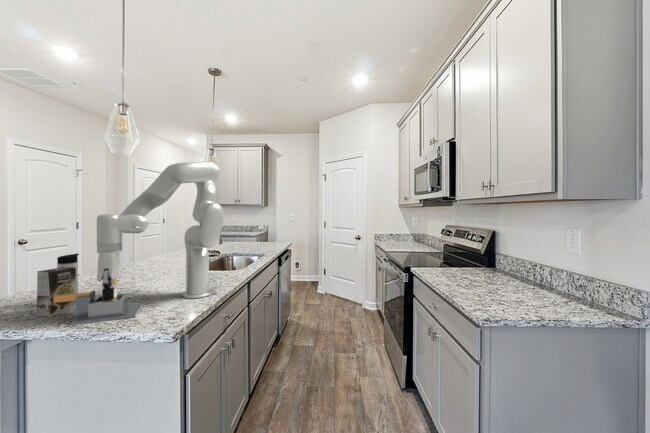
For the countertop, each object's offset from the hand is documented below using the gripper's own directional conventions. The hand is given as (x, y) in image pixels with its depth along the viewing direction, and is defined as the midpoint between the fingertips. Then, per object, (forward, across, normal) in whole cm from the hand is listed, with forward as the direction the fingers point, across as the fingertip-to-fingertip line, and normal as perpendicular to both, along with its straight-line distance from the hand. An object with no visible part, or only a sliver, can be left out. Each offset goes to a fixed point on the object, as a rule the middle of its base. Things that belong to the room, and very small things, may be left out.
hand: (110, 297), depth 107 cm
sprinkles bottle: (+4, 0, 0) cm, 4 cm away
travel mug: (+7, -21, -18) cm, 28 cm away
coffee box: (+7, -10, -18) cm, 22 cm away
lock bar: (0, 0, -10) cm, 10 cm away
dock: (+6, 0, 0) cm, 6 cm away
